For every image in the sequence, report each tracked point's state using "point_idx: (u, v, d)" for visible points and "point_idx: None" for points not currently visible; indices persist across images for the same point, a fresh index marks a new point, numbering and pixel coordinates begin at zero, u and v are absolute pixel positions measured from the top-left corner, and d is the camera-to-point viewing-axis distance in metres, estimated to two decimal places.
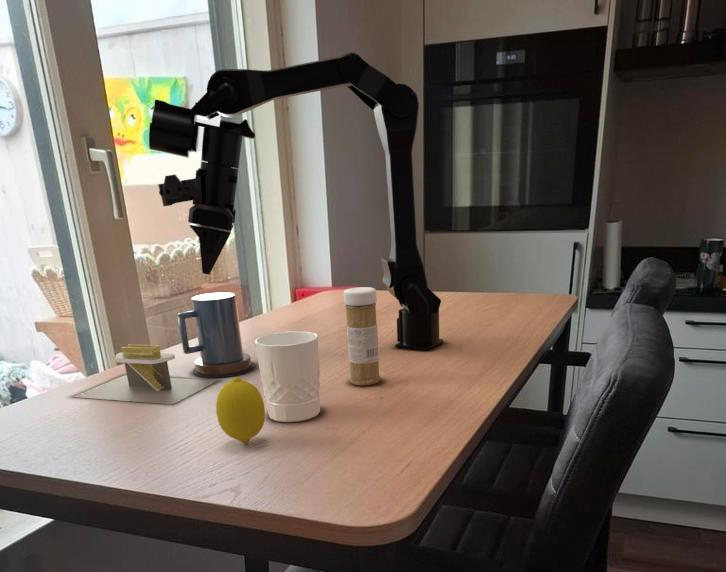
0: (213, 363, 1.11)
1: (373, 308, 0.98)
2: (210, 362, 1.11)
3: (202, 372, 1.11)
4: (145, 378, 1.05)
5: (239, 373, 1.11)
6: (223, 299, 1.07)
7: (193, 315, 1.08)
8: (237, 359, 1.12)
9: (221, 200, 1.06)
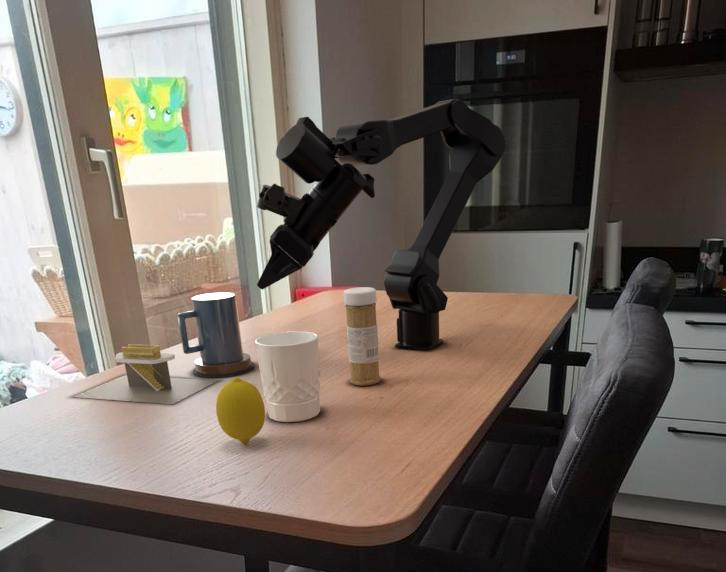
0: (213, 363, 1.11)
1: (373, 308, 0.98)
2: (210, 362, 1.11)
3: (202, 372, 1.11)
4: (145, 378, 1.05)
5: (239, 373, 1.11)
6: (223, 299, 1.07)
7: (193, 315, 1.08)
8: (237, 359, 1.12)
9: (311, 233, 1.03)
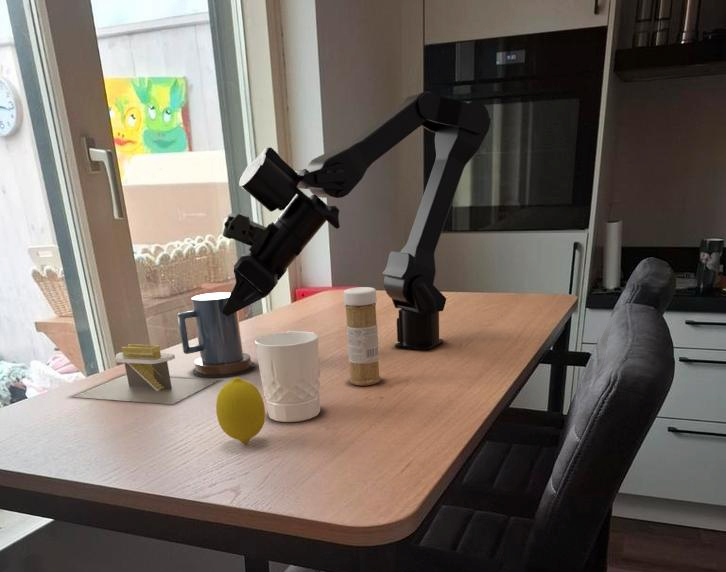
0: (213, 363, 1.11)
1: (373, 308, 0.98)
2: (210, 362, 1.11)
3: (202, 372, 1.11)
4: (145, 378, 1.05)
5: (239, 373, 1.11)
6: (223, 299, 1.07)
7: (193, 315, 1.08)
8: (237, 359, 1.12)
9: (276, 262, 1.05)
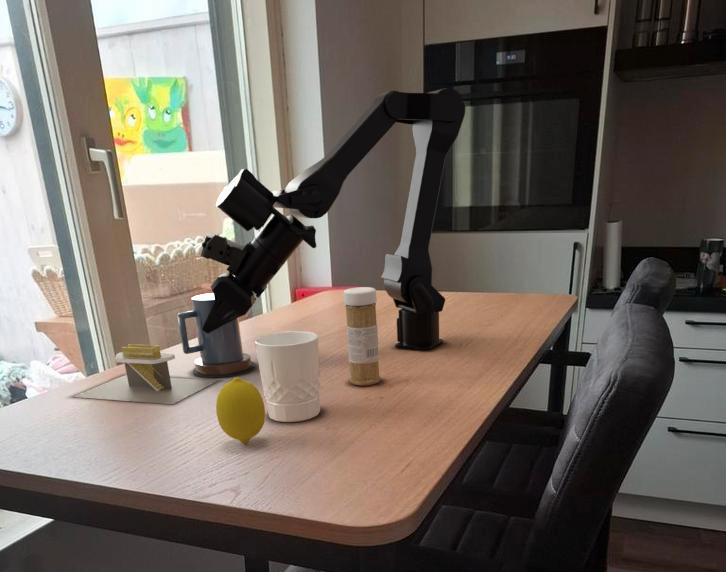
0: (213, 363, 1.11)
1: (373, 308, 0.98)
2: (210, 362, 1.11)
3: (202, 372, 1.11)
4: (145, 378, 1.05)
5: (239, 373, 1.11)
6: None
7: (193, 315, 1.08)
8: (237, 359, 1.12)
9: (253, 281, 1.06)
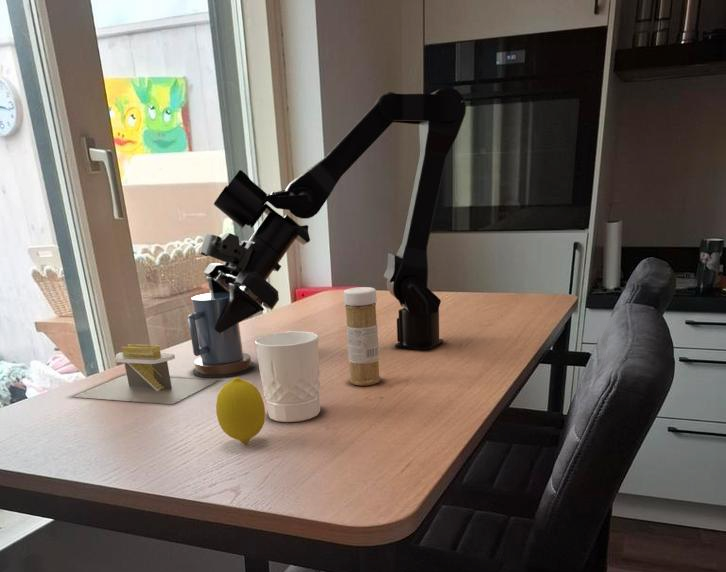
0: (223, 362, 1.11)
1: (373, 308, 0.98)
2: (219, 362, 1.11)
3: (213, 373, 1.10)
4: (145, 378, 1.05)
5: (239, 373, 1.11)
6: None
7: (201, 316, 1.07)
8: (242, 357, 1.13)
9: None
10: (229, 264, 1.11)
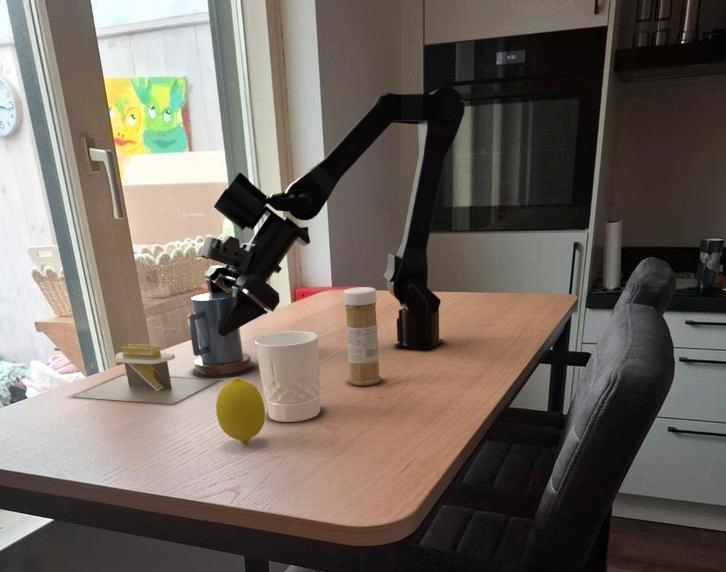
0: (223, 362, 1.11)
1: (373, 308, 0.98)
2: (219, 362, 1.11)
3: (213, 373, 1.10)
4: (145, 378, 1.05)
5: (239, 373, 1.11)
6: (231, 297, 1.08)
7: (201, 316, 1.07)
8: (242, 357, 1.13)
9: None
10: (230, 266, 1.11)
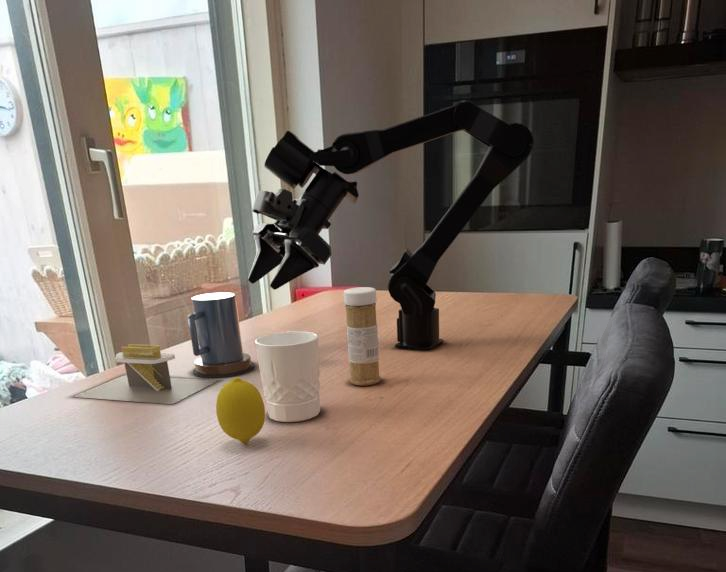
0: (223, 362, 1.11)
1: (373, 308, 0.98)
2: (219, 362, 1.11)
3: (213, 373, 1.10)
4: (145, 378, 1.05)
5: (239, 373, 1.11)
6: (231, 297, 1.08)
7: (201, 316, 1.07)
8: (242, 357, 1.13)
9: None
10: (280, 222, 1.12)
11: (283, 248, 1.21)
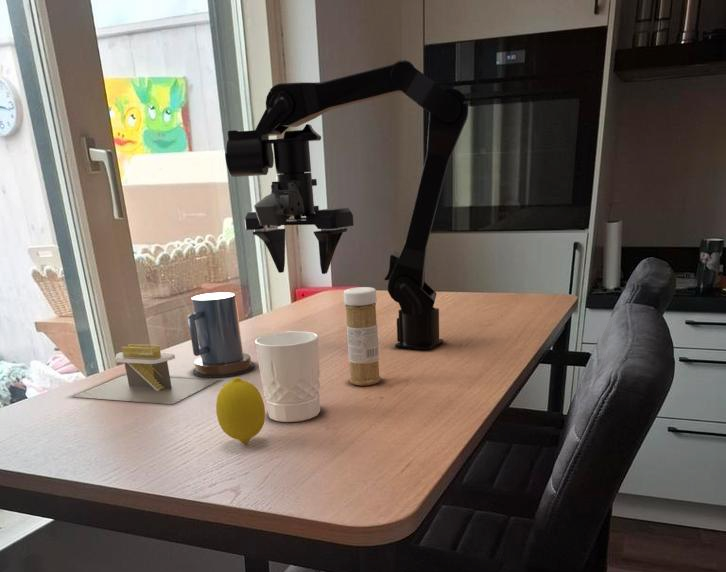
0: (223, 362, 1.11)
1: (373, 308, 0.98)
2: (219, 362, 1.11)
3: (213, 373, 1.10)
4: (145, 378, 1.05)
5: (239, 373, 1.11)
6: (231, 297, 1.08)
7: (201, 316, 1.07)
8: (242, 357, 1.13)
9: (313, 204, 1.15)
10: None
11: None
